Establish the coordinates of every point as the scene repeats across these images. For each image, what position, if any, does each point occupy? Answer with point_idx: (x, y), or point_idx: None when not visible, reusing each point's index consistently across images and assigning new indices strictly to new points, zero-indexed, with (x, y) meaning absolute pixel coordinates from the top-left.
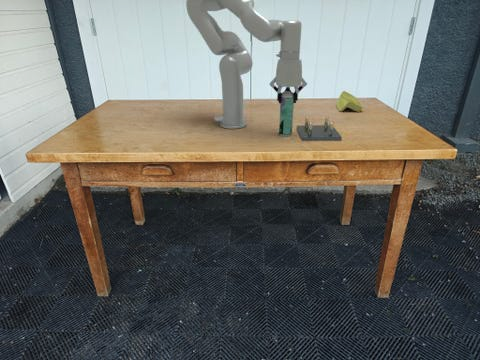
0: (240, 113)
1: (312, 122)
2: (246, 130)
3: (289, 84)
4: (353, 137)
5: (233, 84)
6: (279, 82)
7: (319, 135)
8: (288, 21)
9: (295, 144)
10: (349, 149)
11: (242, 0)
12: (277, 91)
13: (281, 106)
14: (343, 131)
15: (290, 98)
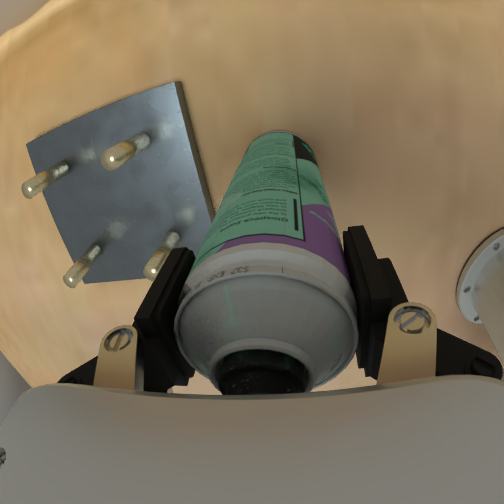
0: None
1: (102, 165)
2: (469, 213)
3: (196, 432)
4: (14, 187)
5: None
6: (495, 450)
7: (98, 134)
8: None
9: (212, 20)
10: (12, 55)
11: None
12: (436, 323)
13: (330, 216)
14: (50, 245)
15: (219, 246)
